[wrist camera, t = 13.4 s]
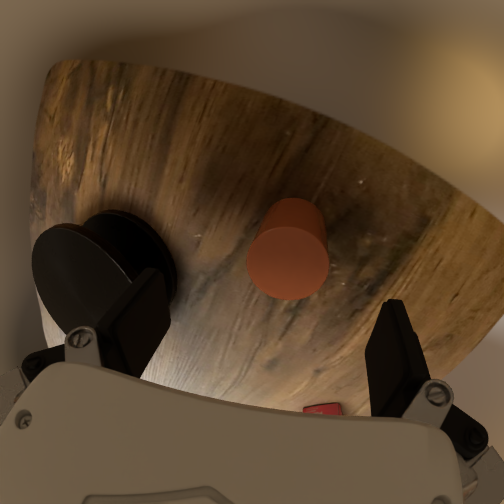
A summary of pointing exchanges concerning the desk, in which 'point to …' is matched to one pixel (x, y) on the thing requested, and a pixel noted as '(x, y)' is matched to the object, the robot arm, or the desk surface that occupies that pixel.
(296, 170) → the desk surface
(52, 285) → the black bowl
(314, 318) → the desk surface
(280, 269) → the orange cylinder
